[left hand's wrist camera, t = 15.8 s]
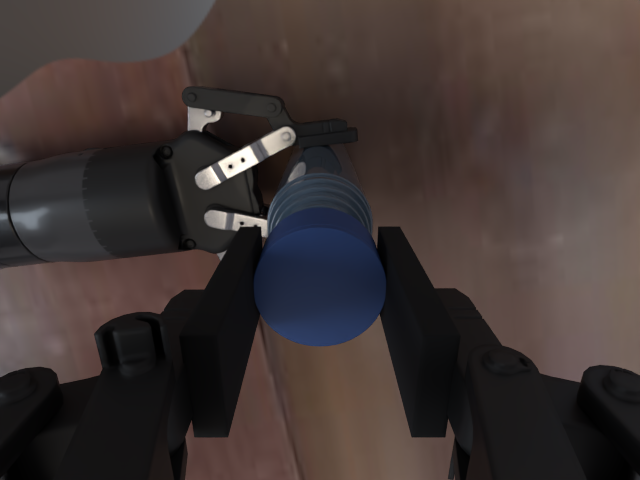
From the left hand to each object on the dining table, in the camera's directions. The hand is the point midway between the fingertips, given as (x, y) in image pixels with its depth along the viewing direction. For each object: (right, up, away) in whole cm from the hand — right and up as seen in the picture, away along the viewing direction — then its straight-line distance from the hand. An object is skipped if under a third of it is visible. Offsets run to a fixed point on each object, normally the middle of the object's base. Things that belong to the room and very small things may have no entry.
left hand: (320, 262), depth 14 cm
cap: (0, -1, -2) cm, 2 cm away
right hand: (+3, +5, +12) cm, 13 cm away
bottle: (0, +7, +18) cm, 19 cm away
